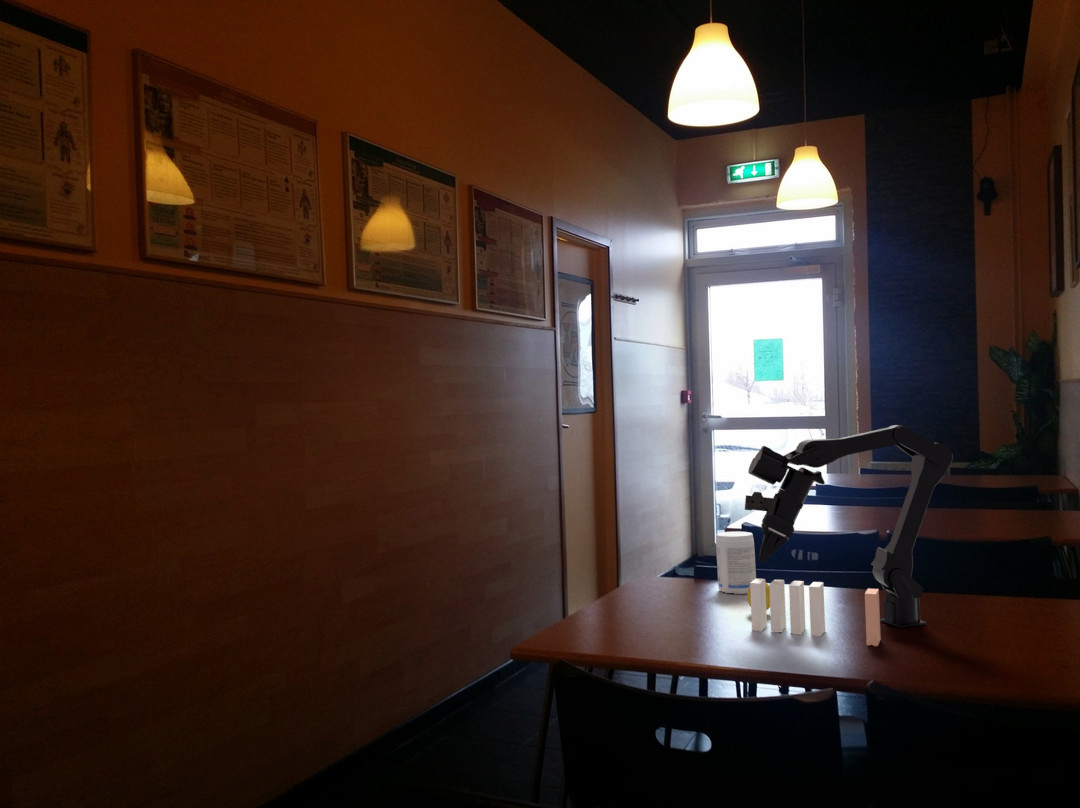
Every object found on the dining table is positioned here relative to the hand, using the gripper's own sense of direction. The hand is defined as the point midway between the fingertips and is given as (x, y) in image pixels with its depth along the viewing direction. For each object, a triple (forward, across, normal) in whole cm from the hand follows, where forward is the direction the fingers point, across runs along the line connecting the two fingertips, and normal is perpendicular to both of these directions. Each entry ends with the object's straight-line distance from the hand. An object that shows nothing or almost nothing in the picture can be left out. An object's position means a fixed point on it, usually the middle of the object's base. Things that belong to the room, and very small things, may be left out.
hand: (760, 560), depth 183 cm
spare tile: (+4, +9, +26) cm, 27 cm away
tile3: (+10, +2, +13) cm, 16 cm away
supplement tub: (+12, -37, -1) cm, 39 cm away
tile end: (+13, 0, +6) cm, 14 cm away
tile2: (+8, +2, +16) cm, 18 cm away
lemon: (+12, -13, +6) cm, 18 cm away
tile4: (+11, +1, +9) cm, 15 cm away
